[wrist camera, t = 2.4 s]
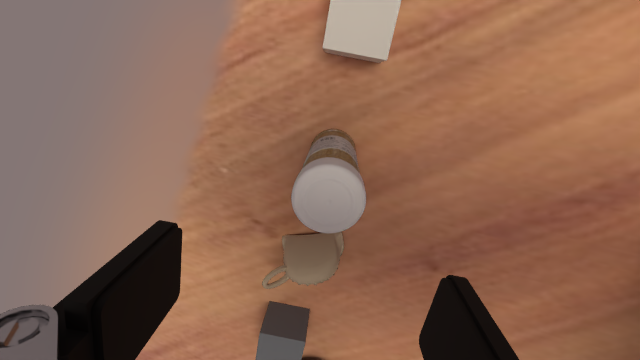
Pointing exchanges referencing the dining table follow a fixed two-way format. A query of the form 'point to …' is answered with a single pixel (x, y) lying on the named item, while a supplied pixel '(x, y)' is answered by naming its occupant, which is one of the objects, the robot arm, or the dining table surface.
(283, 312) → the charcoal block
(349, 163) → the sprinkles bottle
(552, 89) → the dining table surface
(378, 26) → the off-white block
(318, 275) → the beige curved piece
